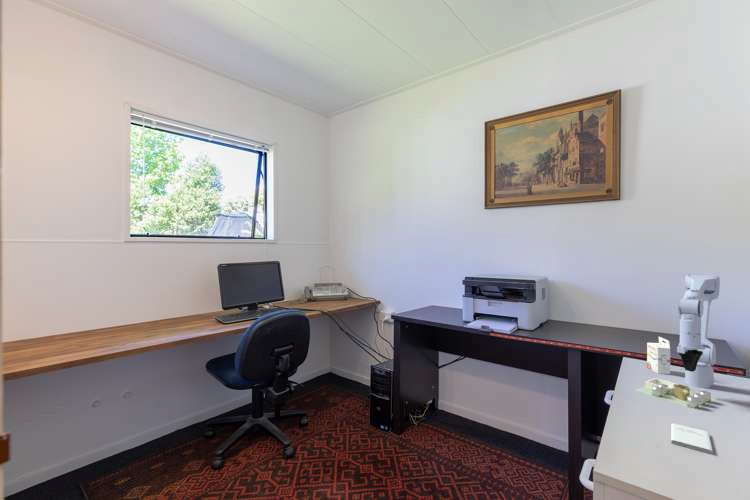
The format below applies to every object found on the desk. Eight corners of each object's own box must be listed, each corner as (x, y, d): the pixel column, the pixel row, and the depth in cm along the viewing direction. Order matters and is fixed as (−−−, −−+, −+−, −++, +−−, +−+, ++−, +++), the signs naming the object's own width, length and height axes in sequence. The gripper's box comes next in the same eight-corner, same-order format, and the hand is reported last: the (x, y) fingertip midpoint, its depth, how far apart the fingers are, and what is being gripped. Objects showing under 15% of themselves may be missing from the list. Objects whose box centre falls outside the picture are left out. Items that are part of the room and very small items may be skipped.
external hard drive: (671, 445, 96) (671, 427, 105) (712, 456, 91) (708, 437, 100) (671, 439, 96) (671, 422, 105) (712, 450, 91) (708, 431, 100)
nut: (676, 394, 126) (676, 383, 126) (692, 399, 122) (692, 387, 122) (670, 396, 124) (670, 385, 124) (686, 401, 120) (686, 390, 120)
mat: (657, 384, 138) (657, 382, 138) (718, 401, 122) (718, 399, 122) (633, 392, 130) (633, 390, 130) (695, 412, 114) (695, 409, 114)
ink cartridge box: (646, 368, 156) (646, 335, 156) (658, 369, 155) (659, 336, 155) (657, 375, 148) (657, 340, 148) (671, 376, 147) (671, 341, 147)
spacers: (666, 388, 132) (666, 380, 132) (712, 401, 120) (712, 393, 120) (650, 394, 126) (650, 386, 126) (696, 409, 115) (696, 400, 114)
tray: (655, 382, 138) (655, 377, 138) (681, 389, 131) (681, 384, 131) (645, 386, 134) (645, 381, 134) (670, 393, 127) (670, 388, 127)
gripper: (695, 337, 119) (695, 377, 119) (713, 332, 126) (713, 370, 126) (670, 333, 126) (669, 371, 126) (688, 328, 132) (688, 364, 132)
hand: (690, 370), depth 126 cm, fingers closed
